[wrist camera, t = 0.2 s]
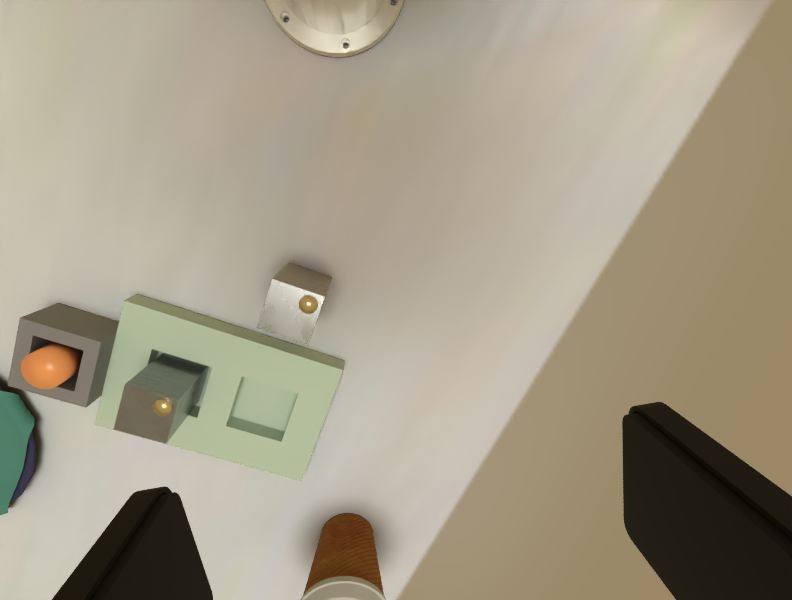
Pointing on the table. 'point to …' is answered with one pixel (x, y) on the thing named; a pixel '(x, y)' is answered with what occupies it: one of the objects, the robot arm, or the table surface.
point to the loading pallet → (223, 389)
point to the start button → (51, 365)
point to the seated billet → (160, 397)
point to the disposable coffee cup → (345, 562)
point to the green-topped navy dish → (15, 448)
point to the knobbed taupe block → (294, 302)
